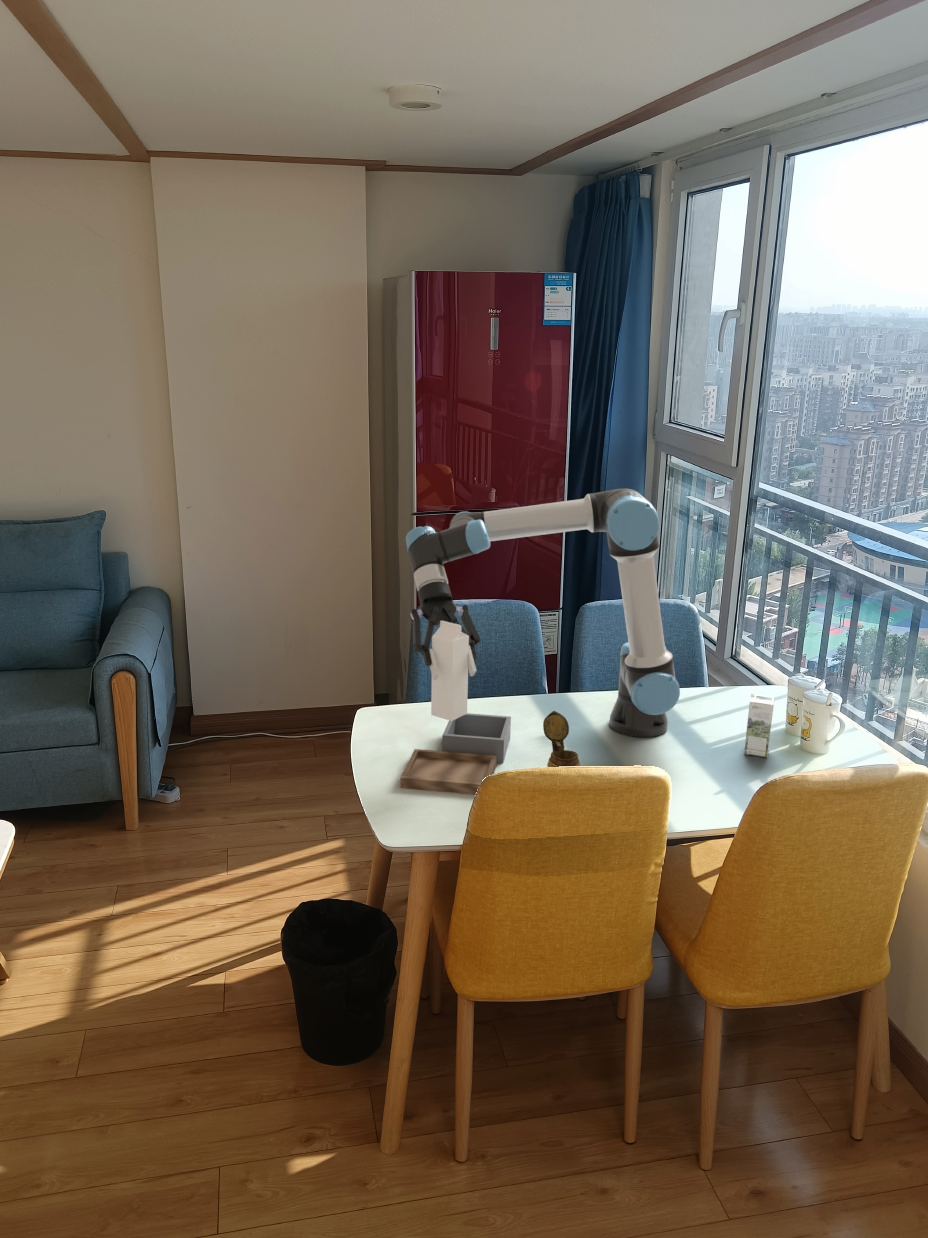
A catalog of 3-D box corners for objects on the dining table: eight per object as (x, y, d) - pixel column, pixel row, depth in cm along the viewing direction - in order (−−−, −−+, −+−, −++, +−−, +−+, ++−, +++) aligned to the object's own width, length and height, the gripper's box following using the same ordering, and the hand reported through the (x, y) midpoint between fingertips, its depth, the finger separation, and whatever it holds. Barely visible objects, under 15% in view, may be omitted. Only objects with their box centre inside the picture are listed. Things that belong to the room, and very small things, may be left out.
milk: (446, 707, 228) (448, 617, 222) (467, 714, 225) (469, 622, 218) (430, 715, 223) (431, 623, 217) (451, 721, 220) (453, 628, 214)
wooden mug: (568, 780, 227) (572, 708, 222) (588, 808, 215) (593, 732, 209) (531, 784, 225) (534, 711, 220) (549, 811, 213) (553, 735, 208)
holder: (510, 738, 250) (510, 716, 248) (503, 763, 236) (503, 740, 234) (452, 733, 252) (452, 712, 250) (442, 758, 238) (442, 735, 236)
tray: (496, 765, 235) (496, 755, 234) (487, 795, 219) (487, 785, 219) (414, 758, 238) (414, 749, 237) (400, 787, 222) (400, 777, 222)
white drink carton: (768, 749, 246) (774, 695, 242) (767, 758, 241) (773, 703, 237) (745, 746, 248) (750, 692, 244) (743, 755, 243) (749, 700, 238)
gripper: (471, 592, 234) (493, 678, 225) (386, 599, 227) (406, 687, 218) (479, 576, 228) (503, 663, 218) (392, 583, 221) (413, 673, 211)
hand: (454, 675), depth 218 cm, fingers closed on milk, 8 cm apart
